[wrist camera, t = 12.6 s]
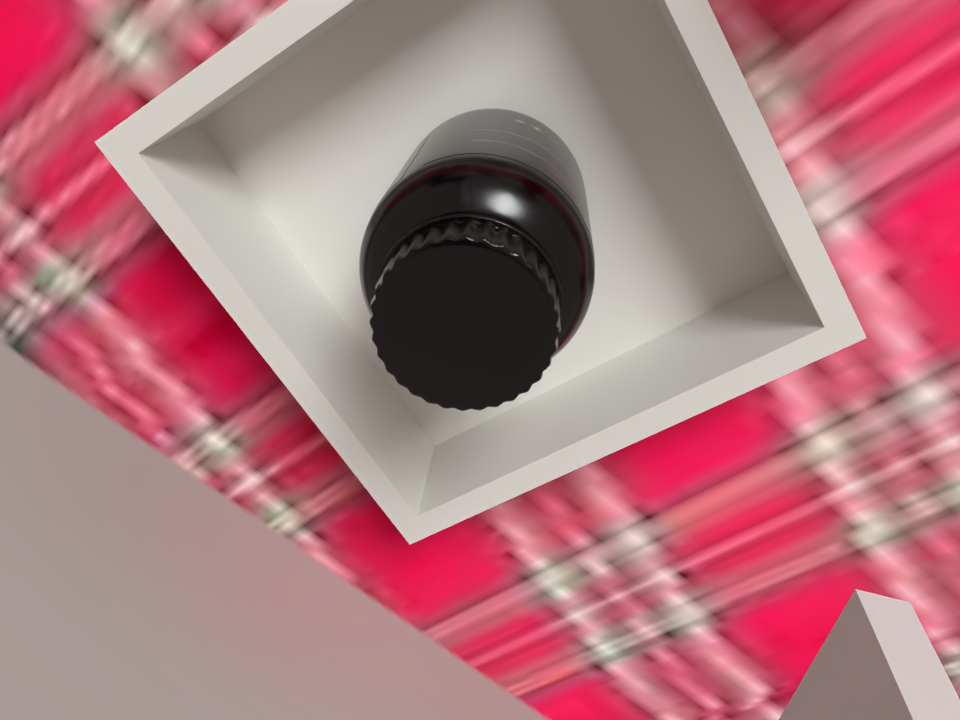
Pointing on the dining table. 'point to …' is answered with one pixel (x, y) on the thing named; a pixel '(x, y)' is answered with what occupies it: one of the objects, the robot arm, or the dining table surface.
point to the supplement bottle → (478, 260)
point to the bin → (611, 205)
